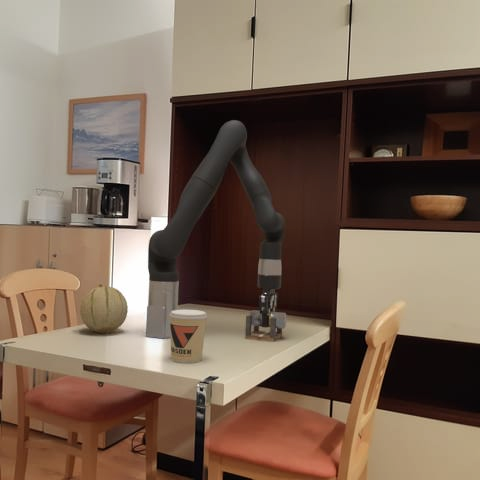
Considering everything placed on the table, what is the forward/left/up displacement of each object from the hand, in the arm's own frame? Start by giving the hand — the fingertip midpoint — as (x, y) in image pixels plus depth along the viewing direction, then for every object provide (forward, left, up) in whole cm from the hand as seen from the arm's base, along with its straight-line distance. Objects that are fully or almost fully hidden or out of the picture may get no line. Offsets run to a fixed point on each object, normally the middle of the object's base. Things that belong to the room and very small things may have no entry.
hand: (267, 325), depth 157 cm
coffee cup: (-39, +10, -4) cm, 40 cm away
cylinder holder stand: (0, +1, -4) cm, 4 cm away
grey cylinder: (0, 0, 0) cm, 0 cm away
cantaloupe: (-20, +48, -4) cm, 52 cm away
